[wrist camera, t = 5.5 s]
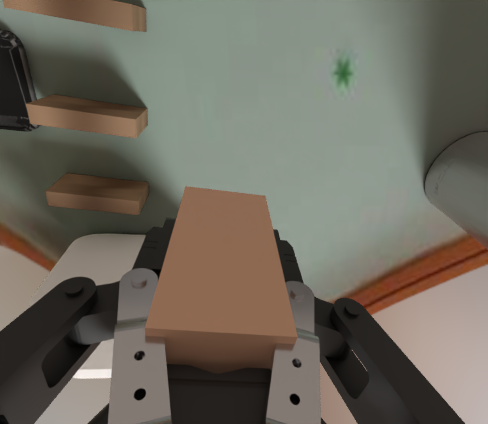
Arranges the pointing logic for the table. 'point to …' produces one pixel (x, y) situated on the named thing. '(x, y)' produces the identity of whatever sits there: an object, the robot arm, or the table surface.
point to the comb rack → (91, 112)
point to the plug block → (221, 285)
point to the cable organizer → (101, 272)
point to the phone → (14, 84)
